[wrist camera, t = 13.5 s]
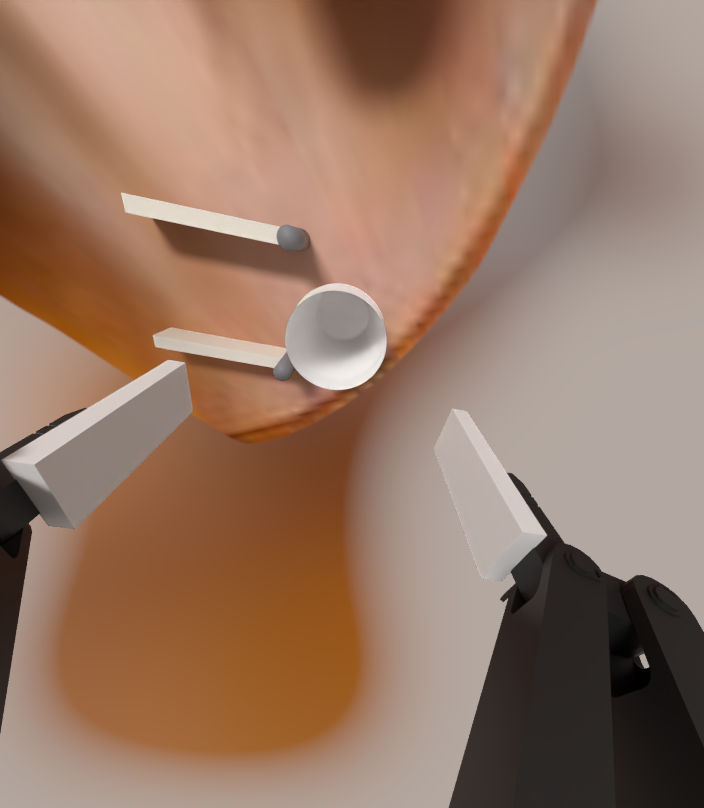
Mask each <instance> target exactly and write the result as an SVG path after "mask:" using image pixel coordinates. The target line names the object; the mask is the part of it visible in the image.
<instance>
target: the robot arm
mask: <svg viewBox="0 0 704 808" xmlns="http://www.w3.org/2000/svg"><path fill="white" fill-rule="evenodd" d="M192 412H193V406H192V400H191V394H190V388H189V382H188V376H187V370H186V364H185V363H184V362H178V361H172V360H167V361H166V362H164V363H162V364H161V365H159V366H157V367H156V368H154V369H152V370H151V371H149V372H147V373H146V374H144V375H142V376H141V377H139V378H137V379H136V380H134V381H132V382H131V383H129V384H127V385H126V386H124V387H122V388H120V389H119V390H117V391H115V392H114V393H112V394H110V395H109V396H107V397H105V398H104V399H102V400H101V401H99V402H98V403H96V404H94V405H92V406H90V407H89V408H83V409H80V410H78V411H75V412H72V413H69V414H66V415H64V416H62V417H61V418H59V419H57V420H55V421H54V422H52V423H50V425H49V426H45V427H43V428H42V429H40V430H38V431H36V434H31V435H29V436H28V437H26V438H24V439H22V440H21V441H19V442H17V443H16V444H14V445H12V446H10V447H9V448H7V449H5V450H3V451H2V452H0V732H1V725H2V719H3V713H4V705H5V699H6V693H7V687H8V681H9V674H10V668H11V661H12V655H13V649H14V643H15V636H16V630H17V624H18V617H19V611H20V605H21V598H22V591H23V585H24V579H25V573H26V566H27V560H28V554H29V547H30V541H31V534H32V530H31V526H30V525H29V522H30V521H31V520H33V519H34V518H35V517H36V516H37V515H38V514H40V515H41V517H42V518H43V519H44V521H45V522H46V524H47V525H48V526H53V527H61V528H69V529H75V528H76V527H78V526H79V525H80V524H81V523H82V522H83V521H84V520H85V519H86V518H87V517H88V516H89V515H90V514H91V513H92V512H93V511H94V510H95V509H96V508H97V507H98V506H99V505H100V504H101V503H102V502H103V501H104V500H105V499H106V498H107V497H108V496H109V495H110V494H111V492H113V491H114V490H115V489H116V488H117V487H118V486H119V485H120V484H121V483H122V481H124V480H125V479H126V478H127V477H128V476H129V475H130V474H131V473H132V472H133V471H134V470H135V469H136V468H137V467H138V466H139V465H140V464H141V463H142V462H143V461H144V460H145V459H146V458H147V457H148V455H150V454H151V453H152V452H153V451H154V450H155V449H156V448H157V446H159V445H160V444H161V443H162V442H163V441H164V440H165V439H166V438H167V437H168V435H170V434H171V433H172V432H173V431H174V430H175V429H176V428H177V427H178V426H179V425H180V424H181V423H182V422H183V421H184V420H185V419H186V418H187V417H188V416H189V415H190V414H191V413H192ZM434 452H435V455H436V457H437V460H438V463H439V465H440V468H441V471H442V474H443V476H444V479H445V482H446V485H447V487H448V490H449V493H450V496H451V498H452V501H453V504H454V507H455V509H456V512H457V515H458V518H459V520H460V523H461V526H462V529H463V531H464V534H465V537H466V539H467V542H468V545H469V548H470V550H471V553H472V556H473V559H474V561H475V564H476V567H477V569H478V572H479V575H480V578H481V579H487V580H495V581H503V580H504V579H505V577H506V576H507V575H509V574H510V573H512V575H513V578H514V580H515V582H516V583H515V584H514V585H513V586H512V587H511V588H510V589H509V590H508V591H507V592H506V593H505V594H504V595H503V596H502V597H501V599H500V600H502V601H503V602H504V601H505V600H506V599H507V598H508V601H507V605H506V609H505V612H504V616H503V619H502V623H501V626H500V630H499V633H498V637H497V640H496V644H495V647H494V651H493V654H492V658H491V661H490V665H489V668H488V672H487V675H486V679H485V682H484V686H483V689H482V693H481V696H480V700H479V703H478V707H477V711H476V714H475V717H474V721H473V724H472V728H471V731H470V735H469V739H468V742H467V746H466V750H465V753H464V756H463V760H462V764H461V767H460V770H459V774H458V777H457V781H456V784H455V788H454V791H453V795H452V798H451V802H450V805H449V808H704V632H703V630H702V629H701V627H700V625H699V623H698V621H697V620H696V618H695V616H694V615H693V614H692V612H691V611H690V609H689V608H688V606H687V605H686V604H685V603H684V602H683V601H682V600H681V599H680V598H679V597H678V596H677V595H676V594H675V593H674V592H672V591H671V590H669V588H667V587H666V586H664V585H663V584H661V583H659V582H658V581H656V580H654V579H652V578H649V577H647V576H644V575H636V576H635V577H633V578H632V579H630V580H629V581H627V582H625V581H622V580H620V579H618V578H616V577H613V576H611V575H608V574H606V573H604V572H602V571H601V570H600V568H599V567H598V566H597V565H596V564H595V562H594V561H593V560H592V559H591V558H590V557H589V556H587V555H586V554H585V553H583V552H582V551H581V550H579V549H577V548H575V547H573V546H571V545H568V544H565V543H564V542H563V540H562V539H561V538H560V536H559V535H558V533H557V532H556V530H555V529H554V527H553V526H552V525H551V523H550V521H549V520H548V518H547V517H546V516H545V514H544V513H543V511H542V510H541V508H540V507H538V504H537V503H536V501H535V500H534V498H533V497H531V494H530V493H529V491H528V490H527V488H526V487H525V485H524V484H523V483H522V482H521V481H520V480H519V479H518V478H517V477H516V476H514V475H513V474H512V473H506V471H505V470H504V468H503V467H502V465H501V464H500V462H499V461H498V459H497V457H496V456H495V454H494V453H493V451H492V450H491V448H490V447H489V445H488V443H487V442H486V440H485V439H484V437H483V436H482V434H481V433H480V431H479V430H478V428H477V427H476V425H475V424H474V422H473V420H472V419H471V417H470V416H469V414H468V413H467V411H463V410H457V409H452V410H451V412H450V414H449V417H448V419H447V421H446V423H445V425H444V428H443V430H442V432H441V434H440V437H439V439H438V441H437V443H436V445H435V447H434ZM644 653H645V656H646V659H647V661H648V664H649V668H644V667H643V665H642V663H641V660H640V657H639V655H642V654H644Z"/></svg>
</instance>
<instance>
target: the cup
mask: <svg viewBox="0 0 704 808" xmlns="http://www.w3.org/2000/svg"><path fill="white" fill-rule="evenodd" d="M285 344H286V350H287V353H288V356H289V359H290V361H291V363H292V364H293V366H294V368H295V369H296V370H297V371H298V372H299V374H300V375H302V376H303V377H304V378H305V379H306V380H308V381H309V382H311V383H313V384H315V385H317V386H319V387H322V388H326V389H331V390H344V389H350V388H353V387H356V386H358V385H361V384H362V383H364V382H366V381H367V380H368V379H370V378H371V377H372V376H373V375H374V374H375V373H376V371H377V370H378V369H379V367H380V365H381V363H382V361H383V359H384V356H385V352H386V329H385V322H384V319H383V316H382V313H381V311H380V309H379V307H378V306H377V304H376V303H375V302H374V301H373V299H372V298H371V297H370V296H369V295H367V294H366V293H365V292H363V291H362V290H360V289H358V288H356V287H353V286H351V285H347V284H339V283H335V284H327V285H323V286H320V287H318V288H316V289H314V290H312V291H311V292H309V293H308V294H307V295H305V296H304V297H303V298H302V300H301V301H300V302H299V303H298V305H297V307H296V308H295V310H294V311H293V313H292V315H291V316H290V318H289V321H288V323H287V327H286V332H285Z"/></svg>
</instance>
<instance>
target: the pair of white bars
mask: <svg viewBox="0 0 704 808" xmlns="http://www.w3.org/2000/svg"><path fill="white" fill-rule="evenodd" d="M121 195H122V199H123V204H124V208H125V212H126V213H131V214H136V215H140V216H145V217H150V218H154V219H159V220H164V221H169V222H173V223H178V224H183V225H188V226H192V227H197V228H202V229H207V230H211V231H216V232H221V233H226V234H230V235H235V236H240V237H245V238H249V239H254V240H259V241H264V242H268V243H273V244H278V245H279V246H280V247H281V248H282V249H284V250H286V251H299V250H305V249H306V248H307V247H308V246H309V243H310V238H309V235H308V233H307V232H306V231H305V230H303V229H300V228H297V227H293V226H290V225H283V226H281V227H278V226H274V225H269V224H264V223H260V222H255V221H251V220H246V219H241V218H237V217H232V216H227V215H223V214H218V213H213V212H209V211H204V210H200V209H195V208H190V207H186V206H181V205H176V204H172V203H167V202H162V201H158V200H153V199H149V198H144V197H139V196H135V195H130V194H125V193H121ZM153 339H154V344H155V347H157V348H163V349H169V350H175V351H180V352H186V353H192V354H197V355H203V356H209V357H214V358H220V359H226V360H231V361H237V362H243V363H248V364H254V365H260V366H265V367H271V368H274V370H273V374H274V376H275V378H276V379H278V380H280V381H285V380H288V379H289V377H290V375H291V374H292V372H293V370H294V366H293V364H292V363H291V361H290V359H289V356H288V353H287V350H286V348H282V347H276V346H271V345H265V344H260V343H254V342H249V341H243V340H238V339H232V338H227V337H221V336H216V335H210V334H205V333H199V332H194V331H189V330H183V329H178V328H172V327H170V328H168V329H166V330H163V331H161V332H159V333H156V334H154V335H153Z"/></svg>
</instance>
